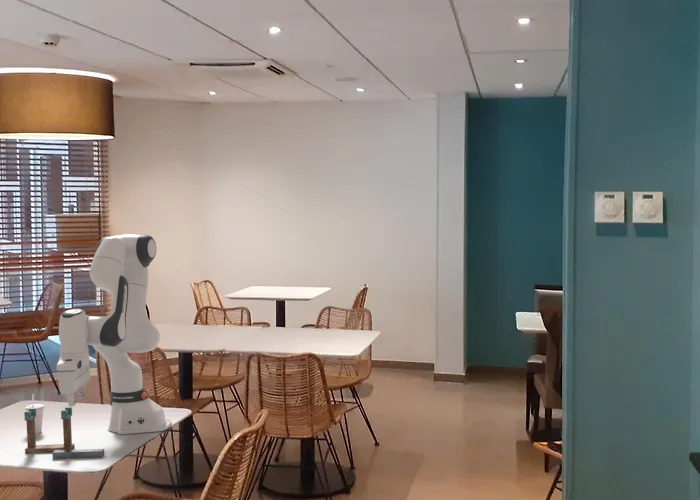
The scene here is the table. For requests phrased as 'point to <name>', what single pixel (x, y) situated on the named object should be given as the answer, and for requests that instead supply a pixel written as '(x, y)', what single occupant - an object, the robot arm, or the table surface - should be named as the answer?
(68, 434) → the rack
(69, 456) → the rail
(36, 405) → the smoothie
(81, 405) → the table surface
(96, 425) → the table surface
